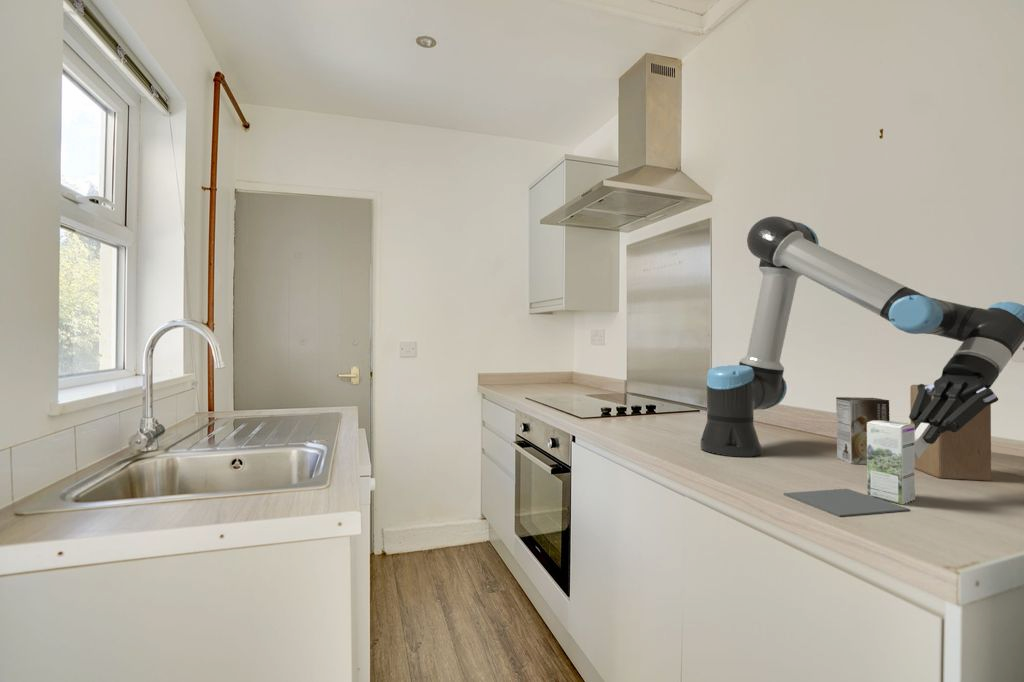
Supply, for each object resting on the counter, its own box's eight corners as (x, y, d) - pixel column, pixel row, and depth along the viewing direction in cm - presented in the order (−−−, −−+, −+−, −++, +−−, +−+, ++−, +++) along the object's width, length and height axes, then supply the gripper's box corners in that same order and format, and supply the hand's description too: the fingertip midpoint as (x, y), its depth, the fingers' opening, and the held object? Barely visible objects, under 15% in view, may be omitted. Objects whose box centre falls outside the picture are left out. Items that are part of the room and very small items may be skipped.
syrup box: (916, 500, 87) (916, 423, 87) (902, 505, 84) (901, 425, 84) (880, 492, 92) (880, 419, 92) (865, 496, 89) (865, 421, 89)
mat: (846, 490, 93) (846, 488, 93) (909, 510, 81) (909, 509, 81) (783, 494, 90) (783, 493, 90) (839, 516, 78) (839, 515, 78)
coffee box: (873, 459, 120) (873, 397, 120) (891, 465, 113) (891, 400, 113) (835, 458, 121) (835, 396, 121) (851, 464, 114) (850, 399, 114)
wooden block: (992, 481, 100) (992, 389, 100) (938, 478, 102) (938, 387, 102) (958, 469, 110) (957, 385, 110) (909, 467, 112) (909, 384, 112)
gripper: (1027, 380, 87) (961, 474, 83) (948, 376, 100) (887, 458, 96) (1006, 352, 86) (937, 446, 82) (929, 352, 99) (866, 433, 95)
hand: (910, 452), depth 89 cm, fingers closed
